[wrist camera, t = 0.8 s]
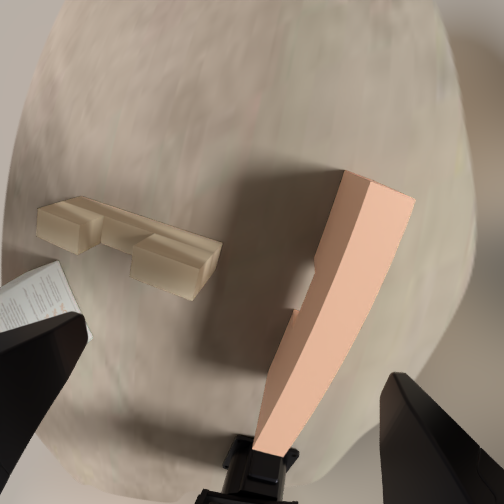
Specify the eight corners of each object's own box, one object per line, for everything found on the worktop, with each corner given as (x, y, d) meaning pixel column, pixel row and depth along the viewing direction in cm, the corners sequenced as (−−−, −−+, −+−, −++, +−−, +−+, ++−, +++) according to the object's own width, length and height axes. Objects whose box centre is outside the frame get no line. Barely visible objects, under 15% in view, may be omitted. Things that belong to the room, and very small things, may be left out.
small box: (27, 270, 26) (-50, 315, 16) (60, 258, 24) (-28, 308, 14) (60, 342, 28) (-4, 400, 18) (95, 338, 26) (26, 407, 16)
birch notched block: (215, 269, 22) (192, 300, 17) (78, 220, 23) (36, 236, 18) (222, 242, 21) (199, 269, 17) (81, 195, 22) (37, 208, 17)
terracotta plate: (292, 378, 24) (283, 456, 16) (268, 371, 24) (252, 449, 17) (374, 180, 19) (416, 199, 11) (344, 169, 19) (370, 181, 11)
